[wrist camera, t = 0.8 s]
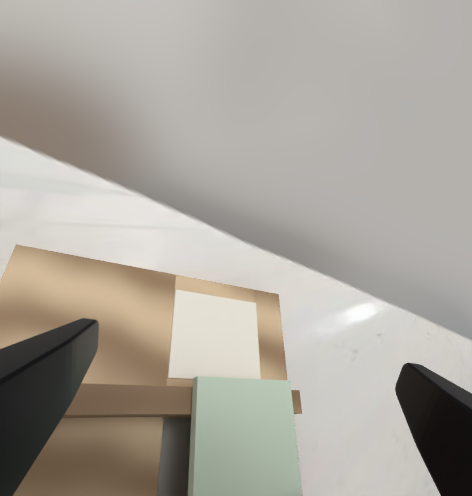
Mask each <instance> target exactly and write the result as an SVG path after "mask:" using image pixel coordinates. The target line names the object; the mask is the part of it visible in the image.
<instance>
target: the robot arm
mask: <svg viewBox="0 0 472 496" xmlns="http://www.w3.org/2000/svg"><path fill="white" fill-rule="evenodd" d="M98 338H99V322H98V321H97V320H96V319H89V318H81V319H79V320H76V321H73V322H71V323H68V324H65V325H63V326H60V327H57V328H55V329H52V330H49V331H47V332H44V333H41V334H39V335H36V336H33V337H31V338H28V339H25V340H23V341H20V342H17V343H15V344H12V345H9V346H7V347H4V348H1V349H0V496H13V495H14V493H15V492H16V490H17V488H18V487H19V485H20V484H21V482H22V481H23V479H24V477H25V476H26V474H27V473H28V471H29V470H30V468H31V466H32V465H33V463H34V462H35V460H36V459H37V457H38V455H39V454H40V452H41V451H42V449H43V447H44V446H45V444H46V443H47V441H48V440H49V438H50V436H51V435H52V433H53V432H54V430H55V429H56V427H57V425H58V424H59V422H60V421H61V419H62V418H63V416H64V414H65V413H66V411H67V409H68V408H69V406H70V404H71V403H72V401H73V399H74V397H75V395H76V393H77V391H78V389H79V387H80V385H81V383H82V381H83V379H84V377H85V375H86V373H87V371H88V369H89V367H90V365H91V363H92V361H93V359H94V357H95V355H96V352H97V349H98ZM395 391H396V395H397V398H398V400H399V403H400V405H401V408H402V410H403V413H404V416H405V418H406V421H407V423H408V426H409V428H410V431H411V433H412V436H413V439H414V441H415V443H416V446H417V448H418V450H419V452H420V454H421V456H422V458H423V461H424V463H425V465H426V467H427V469H428V471H429V473H430V475H431V477H432V479H433V481H434V483H435V485H436V487H437V489H438V491H439V493H440V495H441V496H472V394H471V393H470V392H468V391H466V390H464V389H463V388H461V387H459V386H457V385H455V384H454V383H452V382H450V381H448V380H447V379H445V378H443V377H441V376H440V375H438V374H436V373H434V372H433V371H431V370H429V369H427V368H426V367H424V366H422V365H419V364H413V363H406V364H404V365H403V367H402V370H401V372H400V375H399V378H398V380H397V383H396V387H395Z"/></svg>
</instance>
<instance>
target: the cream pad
mask: <svg viewBox="0 0 472 496" xmlns="http://www.w3.org/2000/svg"><path fill="white" fill-rule="evenodd" d="M197 376H205V377H225V378H246V379H261V375H260V359H259V343H258V327H257V311H256V303H253V302H247V301H241V300H235V299H230V298H224V297H218V296H212V295H206V294H200V293H194V292H188V291H182V290H175V293H174V304H173V315H172V327H171V338H170V350H169V361H168V373H167V378H172V379H193V378H194V377H197Z"/></svg>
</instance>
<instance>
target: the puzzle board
mask: <svg viewBox="0 0 472 496" xmlns="http://www.w3.org/2000/svg"><path fill="white" fill-rule="evenodd" d="M175 290H182V291H188V292H194V293H200V294H206V295H212V296H218V297H224V298H230V299H235V300H241V301H247V302H253V303H256V311H257V327H258V343H259V359H260V375H261V379H266V380H287V371H286V362H285V352H284V343H283V333H282V323H281V314H280V304H279V295H278V294H274V293H268V292H263V291H258V290H253V289H247V288H242V287H237V286H232V285H226V284H221V283H216V282H210V281H205V280H200V279H195V278H189V277H184V276H179V275H174V274H168V273H163V272H158V271H153V270H147V269H142V268H137V267H132V266H126V265H121V264H116V263H110V262H105V261H100V260H95V259H89V258H84V257H79V256H74V255H68V254H63V253H58V252H53V251H47V250H42V249H37V248H32V247H26V246H21V245H16V246H15V248H14V250H13V253H12V255H11V258H10V260H9V262H8V265H7V267H6V270H5V272H4V274H3V277H2V279H1V282H0V349H1V348H4V347H7V346H9V345H12V344H15V343H17V342H20V341H23V340H25V339H28V338H31V337H33V336H36V335H39V334H41V333H44V332H47V331H49V330H52V329H55V328H57V327H60V326H63V325H65V324H68V323H71V322H73V321H76V320H79V319H81V318H89V319H96V320H97V321H98V322H99V338H98V349H97V352H96V355H95V357H94V359H93V361H92V363H91V365H90V367H89V369H88V371H87V373H86V375H85V377H84V379H83V381H82V383H81V385H80V387H79V389H78V391H77V393H76V395H75V397H74V399H73V401H72V403H71V404H70V406H69V408H68V409H67V411H66V413H65V414H64V416H63V418H62V419H61V421H60V422H59V424H58V425H57V427H56V429H55V430H54V432H53V433H52V435H51V436H50V438H49V440H48V441H47V443H46V444H45V446H44V447H43V449H42V451H41V452H40V454H39V455H38V457H37V459H36V460H35V462H34V463H33V465H32V466H31V468H30V470H29V471H28V473H27V474H26V476H25V477H24V479H23V481H22V482H21V484H20V485H19V487H18V488H17V490H16V492H15V493H14V495H13V496H157V487H158V476H159V464H160V453H161V441H162V430H163V418H183V417H191V414H192V392H193V379H172V378H167V373H168V361H169V350H170V338H171V327H172V315H173V304H174V293H175ZM291 393H292V402H293V411H294V414H301V413H302V409H301V401H300V393H299V390H291Z"/></svg>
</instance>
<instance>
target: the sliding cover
mask: <svg viewBox="0 0 472 496" xmlns="http://www.w3.org/2000/svg"><path fill="white" fill-rule="evenodd" d="M188 496H303V494H302V485H301V476H300V467H299V457H298V448H297V439H296V430H295V420H294V411H293V402H292V393H291V384H290V381H287V380H266V379H246V378H225V377H205V376H197V377H194V378H193V392H192V414H191V436H190V458H189V479H188Z"/></svg>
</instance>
